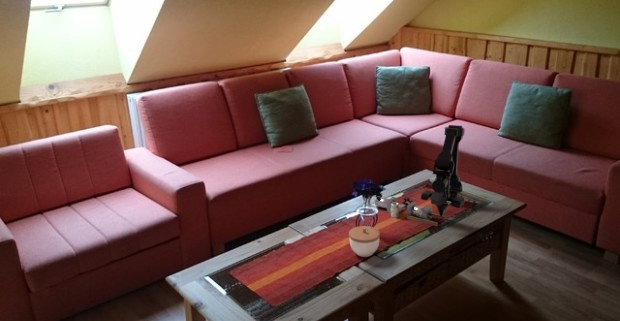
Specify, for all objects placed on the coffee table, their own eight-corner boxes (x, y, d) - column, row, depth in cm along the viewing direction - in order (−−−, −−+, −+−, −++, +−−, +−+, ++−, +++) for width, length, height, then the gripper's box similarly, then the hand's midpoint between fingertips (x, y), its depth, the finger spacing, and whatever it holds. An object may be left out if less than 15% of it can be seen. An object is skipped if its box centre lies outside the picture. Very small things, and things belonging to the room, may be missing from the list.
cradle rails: (415, 211, 251) (415, 208, 250) (445, 218, 242) (445, 216, 242) (406, 218, 244) (407, 215, 244) (437, 226, 236) (437, 223, 235)
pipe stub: (374, 208, 256) (374, 197, 254) (380, 204, 260) (380, 193, 259) (390, 212, 251) (390, 201, 249) (396, 208, 255) (396, 197, 253)
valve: (397, 219, 244) (413, 212, 251) (397, 207, 242) (414, 199, 249) (386, 215, 249) (403, 208, 256) (386, 202, 246) (403, 195, 254)
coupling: (406, 217, 246) (406, 205, 244) (412, 212, 250) (412, 201, 248) (426, 222, 240) (426, 210, 238) (431, 217, 244) (432, 206, 242)
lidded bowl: (345, 257, 213) (345, 233, 209) (353, 243, 224) (353, 220, 220) (375, 262, 209) (375, 237, 205) (382, 247, 220) (382, 223, 216)
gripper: (415, 185, 232) (414, 217, 237) (455, 194, 221) (454, 227, 226) (426, 178, 240) (425, 208, 245) (465, 186, 229) (463, 218, 234)
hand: (441, 215), depth 238 cm, fingers closed
